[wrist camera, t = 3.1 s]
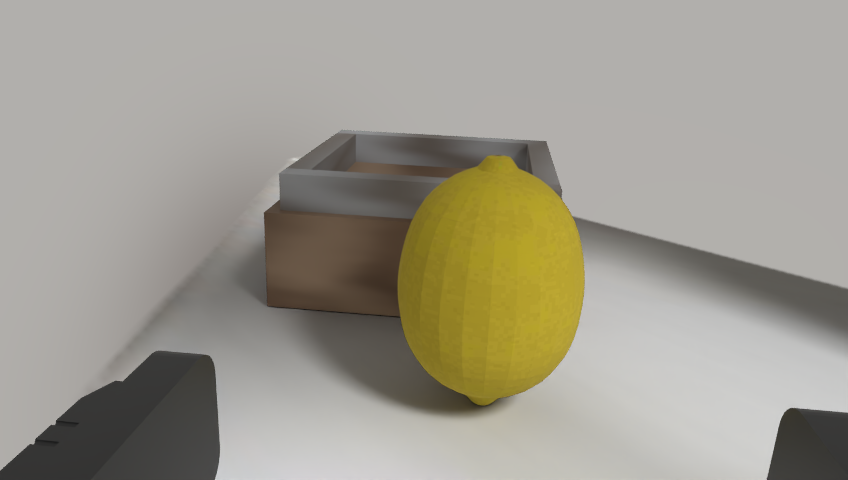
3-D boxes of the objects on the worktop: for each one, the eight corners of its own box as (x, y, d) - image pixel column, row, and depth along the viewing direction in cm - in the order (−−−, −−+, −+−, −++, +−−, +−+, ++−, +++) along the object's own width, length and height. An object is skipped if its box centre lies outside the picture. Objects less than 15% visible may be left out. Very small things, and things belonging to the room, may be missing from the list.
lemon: (555, 365, 25) (579, 141, 22) (584, 460, 20) (619, 181, 17) (400, 357, 25) (406, 134, 22) (387, 450, 20) (393, 172, 17)
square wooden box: (545, 238, 39) (555, 140, 37) (562, 329, 28) (576, 194, 26) (334, 223, 40) (334, 128, 38) (267, 306, 29) (262, 175, 27)
